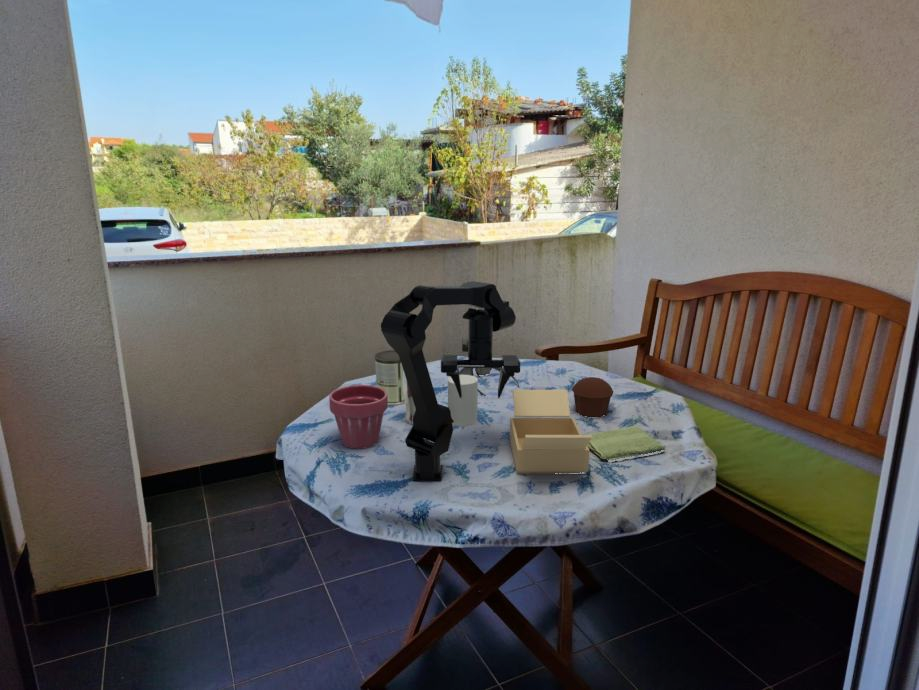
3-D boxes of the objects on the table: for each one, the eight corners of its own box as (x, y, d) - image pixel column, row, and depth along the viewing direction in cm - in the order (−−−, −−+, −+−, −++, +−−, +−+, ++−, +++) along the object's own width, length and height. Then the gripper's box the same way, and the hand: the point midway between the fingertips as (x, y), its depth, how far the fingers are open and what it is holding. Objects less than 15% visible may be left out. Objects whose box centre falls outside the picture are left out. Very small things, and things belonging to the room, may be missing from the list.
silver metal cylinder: (421, 427, 149) (420, 374, 145) (398, 423, 151) (397, 371, 147) (432, 417, 155) (431, 366, 151) (410, 413, 158) (408, 363, 153)
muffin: (598, 402, 166) (600, 371, 163) (619, 416, 156) (622, 383, 153) (563, 407, 162) (565, 375, 159) (583, 422, 152) (585, 388, 149)
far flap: (567, 389, 143) (566, 390, 143) (513, 389, 143) (513, 390, 143) (570, 415, 139) (569, 416, 140) (514, 415, 139) (514, 416, 140)
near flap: (525, 434, 117) (525, 437, 116) (591, 434, 117) (591, 437, 116) (521, 446, 123) (522, 448, 123) (584, 446, 123) (585, 448, 123)
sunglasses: (491, 373, 192) (493, 360, 190) (523, 393, 179) (524, 379, 178) (452, 383, 183) (453, 369, 181) (482, 404, 171) (483, 389, 169)
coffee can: (379, 392, 174) (377, 349, 170) (411, 393, 173) (411, 350, 170) (373, 405, 164) (371, 359, 160) (408, 405, 163) (407, 360, 160)
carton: (587, 474, 124) (589, 450, 123) (516, 474, 124) (517, 450, 123) (572, 439, 142) (573, 417, 140) (509, 439, 142) (510, 417, 140)
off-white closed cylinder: (483, 420, 153) (483, 379, 150) (462, 429, 148) (462, 386, 144) (462, 412, 159) (462, 372, 155) (441, 420, 153) (441, 379, 150)
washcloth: (577, 442, 141) (577, 430, 140) (637, 434, 146) (638, 423, 145) (603, 466, 129) (604, 453, 128) (668, 456, 134) (670, 444, 133)
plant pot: (398, 433, 145) (396, 387, 141) (372, 457, 132) (370, 407, 128) (350, 426, 149) (348, 381, 146) (321, 448, 137) (317, 399, 133)
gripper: (516, 327, 138) (514, 386, 142) (441, 327, 138) (442, 386, 142) (521, 338, 127) (519, 402, 131) (440, 338, 127) (440, 402, 131)
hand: (479, 397), depth 134 cm, fingers open, 9 cm apart
